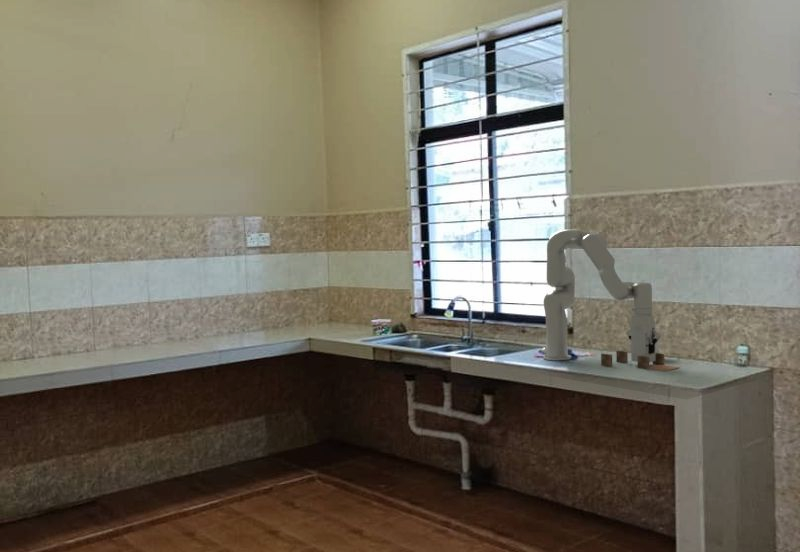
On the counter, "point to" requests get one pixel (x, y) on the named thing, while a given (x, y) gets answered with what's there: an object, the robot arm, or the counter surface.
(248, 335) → the counter surface
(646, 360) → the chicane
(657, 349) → the white cup
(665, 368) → the mat
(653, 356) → the supplement box
